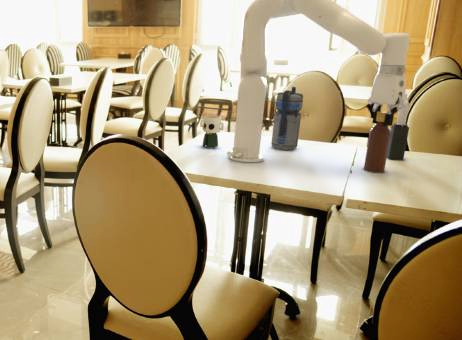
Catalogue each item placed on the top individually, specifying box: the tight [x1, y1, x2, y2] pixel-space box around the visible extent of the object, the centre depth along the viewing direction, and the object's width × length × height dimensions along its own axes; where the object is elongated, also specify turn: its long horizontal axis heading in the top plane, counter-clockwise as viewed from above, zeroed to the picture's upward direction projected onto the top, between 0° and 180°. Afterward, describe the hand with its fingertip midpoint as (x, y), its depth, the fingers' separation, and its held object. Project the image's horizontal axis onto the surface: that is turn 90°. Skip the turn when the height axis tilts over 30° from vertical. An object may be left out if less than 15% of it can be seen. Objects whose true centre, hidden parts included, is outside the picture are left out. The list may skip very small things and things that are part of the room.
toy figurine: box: [199, 114, 225, 149], centre depth 212 cm, size 11×7×13 cm, turn 45°
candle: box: [386, 93, 410, 161], centre depth 196 cm, size 5×5×25 cm
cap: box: [376, 110, 387, 122], centre depth 177 cm, size 4×4×3 cm
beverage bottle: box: [270, 86, 304, 151], centre depth 210 cm, size 10×13×25 cm
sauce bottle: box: [363, 121, 391, 174], centre depth 179 cm, size 6×6×20 cm
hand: (382, 123), depth 178 cm, fingers closed on cap, 3 cm apart
